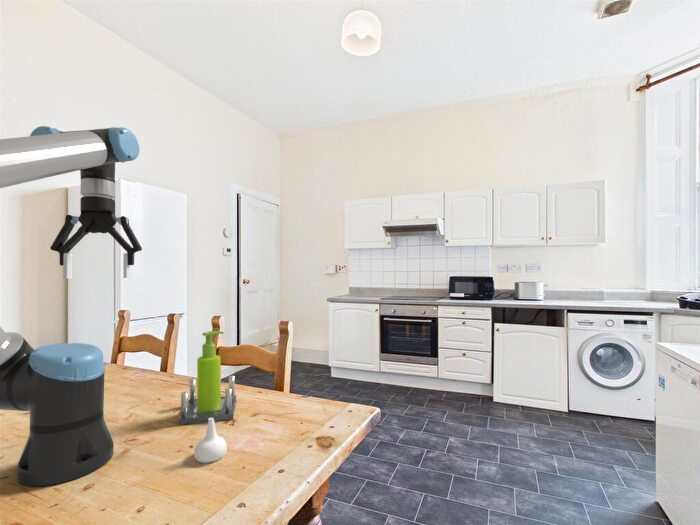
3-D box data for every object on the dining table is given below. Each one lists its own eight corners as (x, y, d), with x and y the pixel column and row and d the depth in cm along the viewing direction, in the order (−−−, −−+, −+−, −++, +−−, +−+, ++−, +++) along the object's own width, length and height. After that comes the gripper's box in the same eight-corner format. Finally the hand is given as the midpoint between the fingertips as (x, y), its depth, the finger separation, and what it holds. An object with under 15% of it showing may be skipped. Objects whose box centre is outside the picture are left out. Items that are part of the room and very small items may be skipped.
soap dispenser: (228, 404, 99) (227, 331, 99) (203, 411, 94) (203, 334, 94) (217, 399, 103) (217, 329, 103) (193, 406, 98) (193, 332, 98)
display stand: (233, 419, 93) (233, 390, 93) (178, 425, 90) (178, 394, 90) (236, 400, 107) (236, 374, 107) (188, 404, 103) (188, 378, 104)
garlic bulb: (215, 468, 71) (219, 428, 71) (187, 462, 72) (190, 423, 72) (231, 452, 77) (234, 415, 77) (204, 447, 78) (208, 410, 78)
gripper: (154, 202, 102) (154, 277, 102) (50, 198, 96) (50, 278, 95) (146, 197, 95) (146, 277, 94) (33, 192, 89) (33, 279, 88)
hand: (97, 278), depth 95 cm, fingers open, 13 cm apart
